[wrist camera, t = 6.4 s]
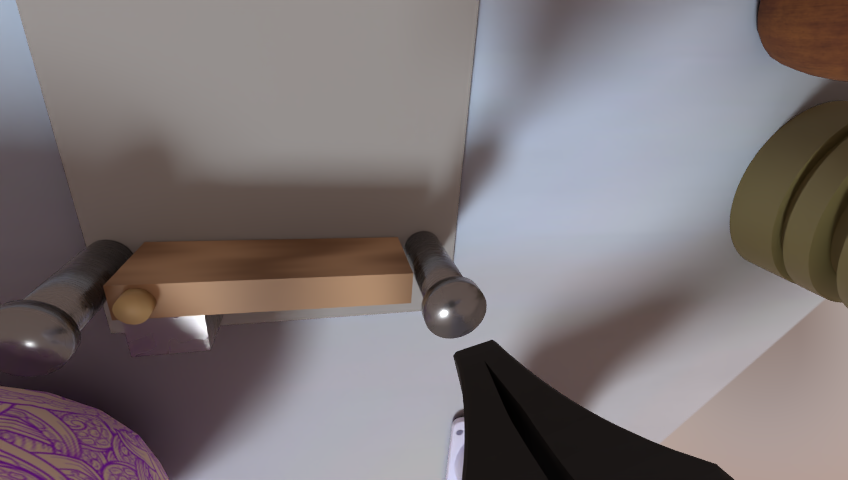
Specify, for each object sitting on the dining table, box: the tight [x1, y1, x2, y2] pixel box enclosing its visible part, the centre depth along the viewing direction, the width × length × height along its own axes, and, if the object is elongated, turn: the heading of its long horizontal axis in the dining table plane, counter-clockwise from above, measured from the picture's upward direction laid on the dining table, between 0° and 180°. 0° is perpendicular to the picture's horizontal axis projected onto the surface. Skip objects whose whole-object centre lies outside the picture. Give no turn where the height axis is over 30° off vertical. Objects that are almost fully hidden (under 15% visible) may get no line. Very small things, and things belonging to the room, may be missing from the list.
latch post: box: [0, 240, 224, 377], centre depth 17 cm, size 4×6×7 cm
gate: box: [103, 237, 413, 325], centre depth 18 cm, size 12×2×5 cm, turn 86°
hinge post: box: [404, 231, 486, 338], centre depth 20 cm, size 3×3×7 cm
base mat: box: [16, 0, 479, 334], centre depth 19 cm, size 16×17×1 cm
